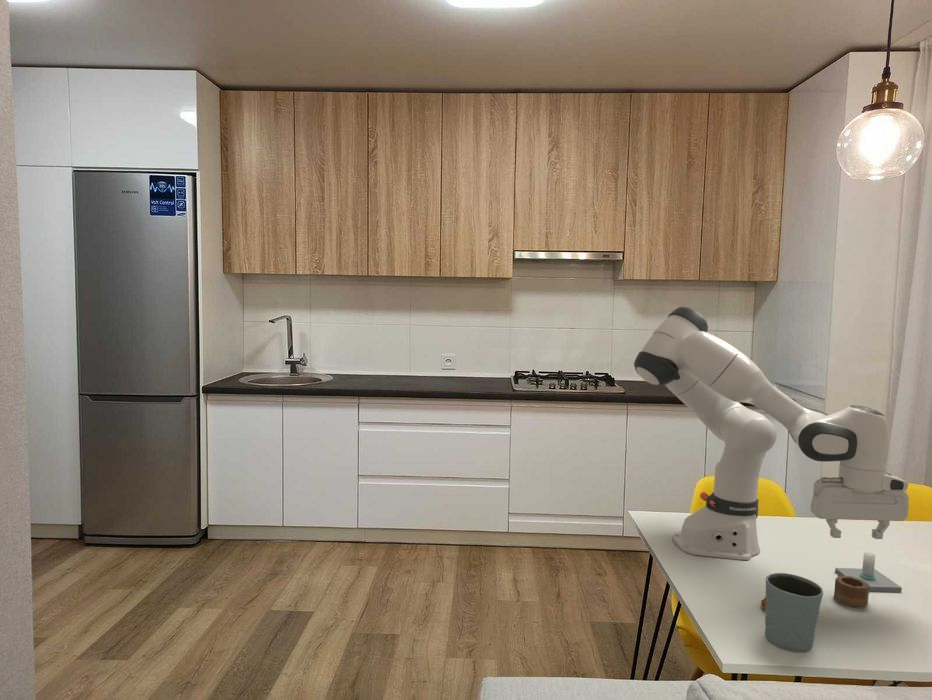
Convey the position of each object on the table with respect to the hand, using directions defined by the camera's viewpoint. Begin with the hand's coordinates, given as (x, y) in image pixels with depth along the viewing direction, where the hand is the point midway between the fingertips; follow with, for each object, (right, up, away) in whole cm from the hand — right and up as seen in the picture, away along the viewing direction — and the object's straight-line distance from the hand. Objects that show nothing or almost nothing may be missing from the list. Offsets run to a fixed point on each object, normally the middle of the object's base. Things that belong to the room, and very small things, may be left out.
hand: (856, 537), depth 144 cm
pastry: (-18, -15, -3) cm, 24 cm away
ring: (0, -15, +1) cm, 15 cm away
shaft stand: (+10, -14, +11) cm, 21 cm away
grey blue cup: (-23, -16, -16) cm, 33 cm away
